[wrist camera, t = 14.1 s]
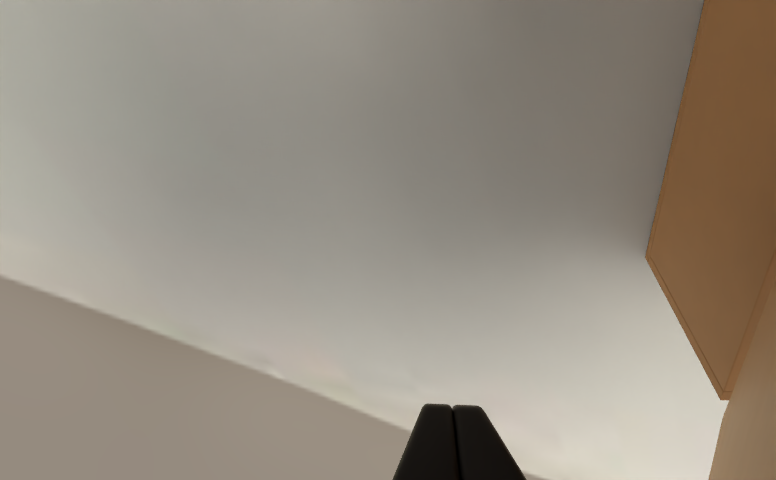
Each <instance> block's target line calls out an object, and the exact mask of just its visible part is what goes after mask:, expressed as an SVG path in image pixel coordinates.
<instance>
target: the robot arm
mask: <svg viewBox="0 0 776 480" xmlns="http://www.w3.org/2000/svg"><path fill="white" fill-rule="evenodd" d="M393 480H526V478H525V476H524V475H523V473H522V472H521V470H520V468H519V467H518V465H517V464H516V462H515V460H514V459H513V457H512V455H511V454H510V452H509V451H508V449H507V447H506V446H505V444H504V442H503V441H502V439H501V438H500V436H499V434H498V433H497V431H496V430H495V428H494V426H493V425H492V423H491V421H490V420H489V418H488V417H487V415H486V413H485V412H484V410H483V409H482V408H481V407H479V406H472V405H455V406H454V407H453V408H451V406H449V405H447V404H425V405H424V406H423V407H422V409H421V412H420V414H419V416H418V419H417V421H416V424H415V426H414V429H413V431H412V433H411V436H410V438H409V441H408V443H407V446H406V448H405V451H404V453H403V455H402V458H401V460H400V463H399V465H398V468H397V470H396V472H395V475H394V478H393Z"/></svg>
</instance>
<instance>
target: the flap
mask: <svg viewBox="0 0 776 480" xmlns="http://www.w3.org/2000/svg"><path fill="white" fill-rule="evenodd" d="M709 480H776V278H775V281H774V283H773V286H772V289H771V291H770V294H769V297H768V299H767V302H766V304H765V307H764V310H763V312H762V315H761V318H760V320H759V323H758V326H757V328H756V331H755V334H754V336H753V339H752V342H751V344H750V347H749V350H748V352H747V355H746V358H745V360H744V363H743V366H742V368H741V371H740V374H739V376H738V379H737V381H736V384H735V387H734V389H733V392H732V395H731V397H730V400H729V403H728V405H727V408H726V411H725V413H724V416H723V419H722V424H721V428H720V432H719V437H718V441H717V445H716V450H715V454H714V458H713V463H712V467H711V471H710V476H709Z"/></svg>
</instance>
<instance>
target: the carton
mask: <svg viewBox="0 0 776 480" xmlns="http://www.w3.org/2000/svg"><path fill="white" fill-rule="evenodd" d="M645 258H646V260H647V262H648V264H649V266H650V268H651V270H652V271H653V273H654V275H655V277H656V279H657V281H658V283H659V285H660V287H661V288H662V290H663V292H664V294H665V296H666V298H667V300H668V302H669V304H670V305H671V307H672V309H673V311H674V313H675V315H676V317H677V319H678V321H679V322H680V324H681V326H682V328H683V330H684V332H685V334H686V336H687V338H688V340H689V341H690V343H691V345H692V347H693V349H694V351H695V353H696V355H697V357H698V358H699V360H700V362H701V364H702V366H703V368H704V370H705V372H706V374H707V375H708V377H709V379H710V381H711V383H712V385H713V387H714V389H715V391H716V393H717V394H718V396H719V398H720V400H730V397H731V395H732V392H733V389H734V387H735V384H736V381H737V379H738V376H739V374H740V371H741V368H742V366H743V363H744V360H745V358H746V355H747V352H748V350H749V347H750V344H751V342H752V339H753V336H754V334H755V331H756V328H757V326H758V323H759V320H760V318H761V315H762V312H763V310H764V307H765V304H766V302H767V299H768V297H769V294H770V291H771V289H772V286H773V283H774V281H775V278H776V0H704V5H703V9H702V13H701V18H700V22H699V26H698V31H697V35H696V39H695V44H694V48H693V52H692V57H691V61H690V65H689V70H688V74H687V78H686V83H685V87H684V91H683V96H682V100H681V104H680V109H679V113H678V117H677V122H676V126H675V130H674V135H673V139H672V143H671V148H670V152H669V156H668V161H667V165H666V169H665V174H664V178H663V182H662V187H661V191H660V195H659V200H658V204H657V208H656V213H655V217H654V221H653V226H652V230H651V234H650V239H649V243H648V247H647V252H646V256H645Z"/></svg>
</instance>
